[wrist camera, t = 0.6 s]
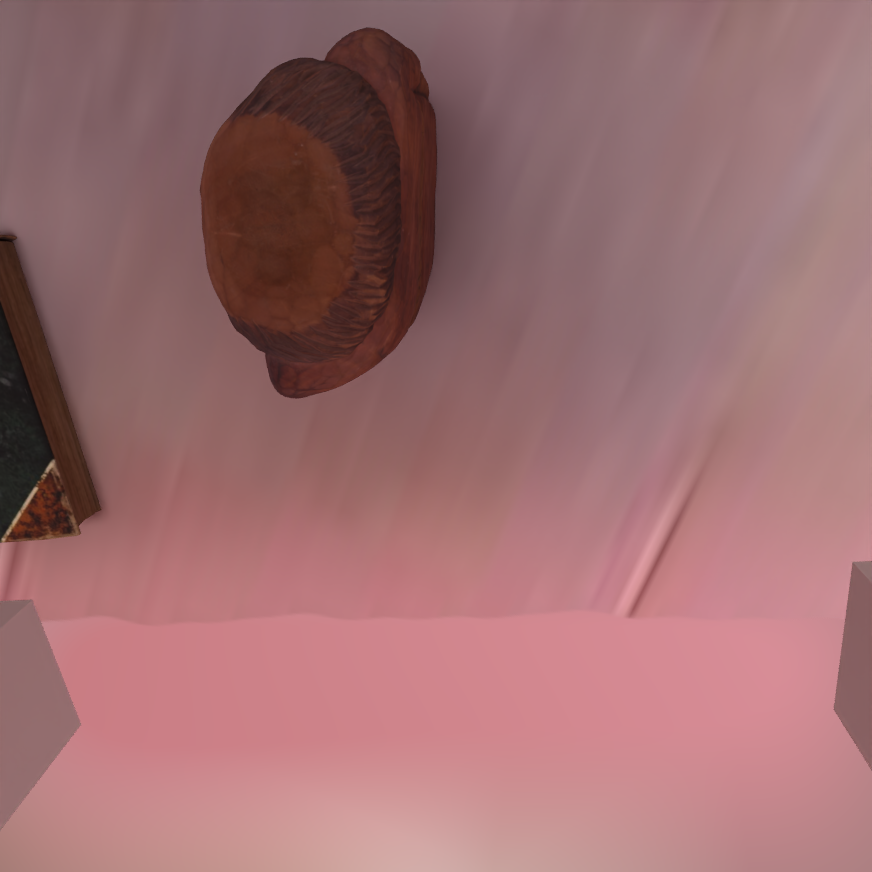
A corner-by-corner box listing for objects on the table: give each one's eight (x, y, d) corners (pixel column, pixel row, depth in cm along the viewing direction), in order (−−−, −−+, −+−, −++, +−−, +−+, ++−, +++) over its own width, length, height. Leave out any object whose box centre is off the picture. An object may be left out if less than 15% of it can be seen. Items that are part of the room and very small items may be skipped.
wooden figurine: (321, 78, 32) (126, -33, 15) (452, 86, 32) (398, -19, 15) (321, 320, 36) (167, 439, 20) (436, 330, 36) (379, 460, 19)
